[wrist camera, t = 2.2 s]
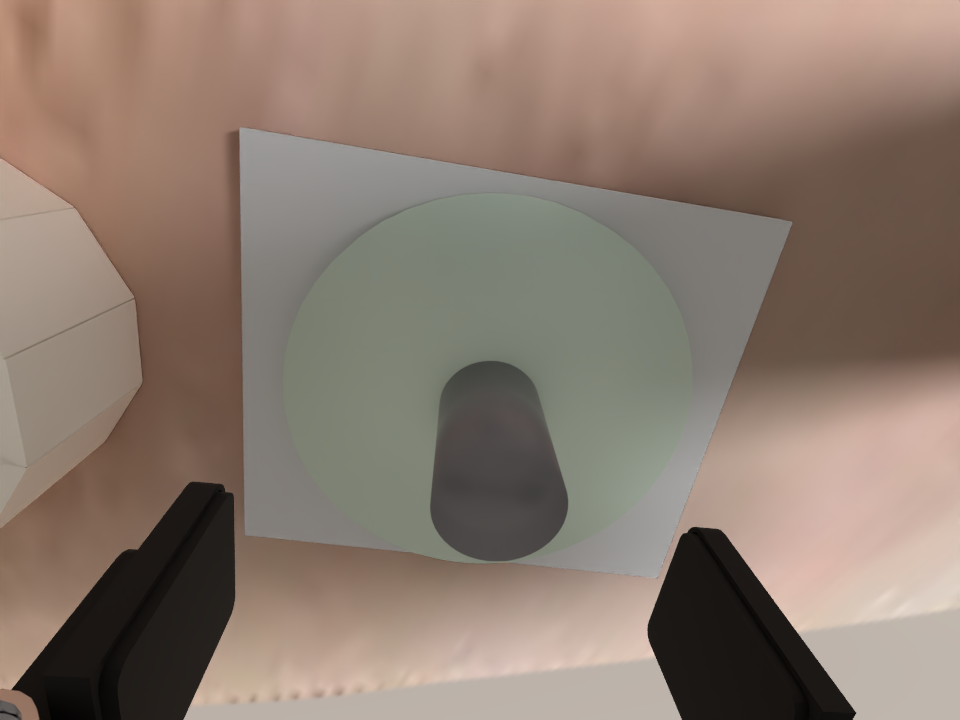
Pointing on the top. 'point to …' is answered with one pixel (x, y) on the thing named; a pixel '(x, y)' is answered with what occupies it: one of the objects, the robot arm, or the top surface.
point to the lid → (487, 378)
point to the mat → (414, 180)
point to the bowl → (56, 341)
